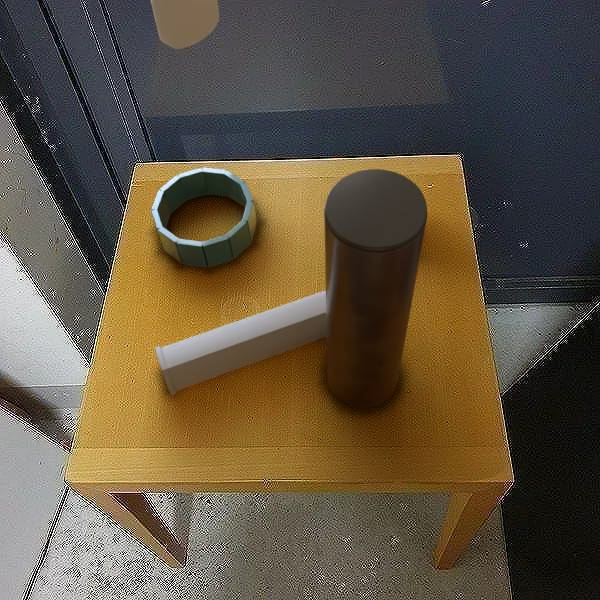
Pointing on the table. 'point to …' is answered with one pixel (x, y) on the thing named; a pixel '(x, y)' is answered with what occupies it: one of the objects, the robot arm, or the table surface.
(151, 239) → the table surface
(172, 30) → the eye dropper bottle
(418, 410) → the table surface
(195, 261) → the teal segmented ring
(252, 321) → the tube
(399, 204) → the stand
